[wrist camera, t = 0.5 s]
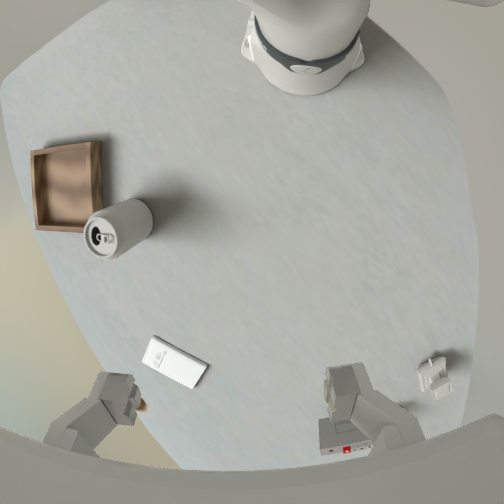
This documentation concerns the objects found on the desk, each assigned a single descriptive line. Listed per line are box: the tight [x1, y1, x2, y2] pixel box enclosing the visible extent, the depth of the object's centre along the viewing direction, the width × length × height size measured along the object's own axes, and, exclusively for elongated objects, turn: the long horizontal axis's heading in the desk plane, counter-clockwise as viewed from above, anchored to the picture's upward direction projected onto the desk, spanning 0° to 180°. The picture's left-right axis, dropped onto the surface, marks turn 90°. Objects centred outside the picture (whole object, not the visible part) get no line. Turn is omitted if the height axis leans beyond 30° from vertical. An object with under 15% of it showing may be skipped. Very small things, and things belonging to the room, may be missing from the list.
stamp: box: [417, 357, 452, 401], centre depth 50 cm, size 9×7×8 cm
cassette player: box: [319, 418, 374, 456], centre depth 56 cm, size 16×3×10 cm, turn 106°
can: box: [83, 199, 153, 259], centre depth 45 cm, size 8×8×12 cm
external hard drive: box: [142, 335, 208, 389], centre depth 60 cm, size 2×8×12 cm
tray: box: [31, 142, 103, 233], centre depth 49 cm, size 16×16×4 cm
